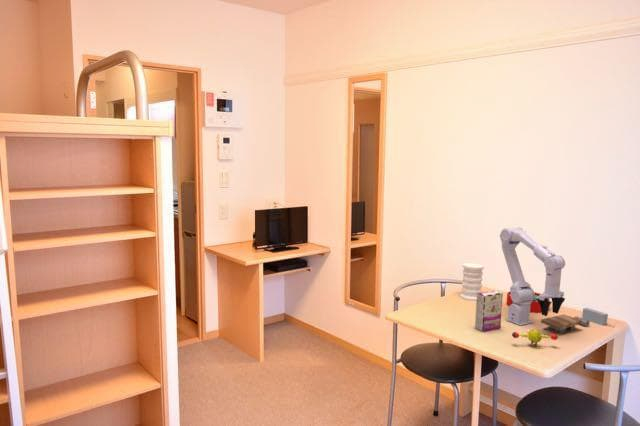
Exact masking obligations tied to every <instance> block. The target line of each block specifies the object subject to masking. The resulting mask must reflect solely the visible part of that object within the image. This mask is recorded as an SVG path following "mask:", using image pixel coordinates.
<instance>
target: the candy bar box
mask: <svg viewBox="0 0 640 426" xmlns="http://www.w3.org/2000/svg"><path fill="white" fill-rule="evenodd" d="M503 294H504V292H502V291H499V290H496V289H495V290H488V291H481V293H477V301H475V302H476V305H475V306H476V307H475V321H474V322H475V323H474V324H475V325H474V329H475V330H477V331H480V332H482V333H485V332H488V331H494V330H498V329H501V327H502V326H501V324H502V323H501V322H502V309H503Z"/></svg>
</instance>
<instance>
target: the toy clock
mask: <svg viewBox="0 0 640 426" xmlns="http://www.w3.org/2000/svg"><path fill="white" fill-rule="evenodd" d="M534 293H535V298H534V300H533V301H532V303H531V305H530V314H531V313H532V314H542V313H541V308H540V304H539V302H538V300H537V299H538V298H539V295H541V294H542V293H539V292H535V291H534ZM550 299H551V298H550ZM550 299H548V301H550ZM512 304H513V301H512V299H511V291H510V290H509V291H508V292H507V294H506V306H508V307H509V306H510V305H512Z"/></svg>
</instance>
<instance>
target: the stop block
mask: <svg viewBox="0 0 640 426" xmlns="http://www.w3.org/2000/svg"><path fill="white" fill-rule="evenodd" d="M608 316H609V315H608V313H605V312H602V311H598V310H596V309H593V308H588V307H585V308H582V316H581V318H583V319H586V320H589V322H590V323H595V324H597V325H601V326H606V325H608Z"/></svg>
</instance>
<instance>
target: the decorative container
mask: <svg viewBox="0 0 640 426" xmlns="http://www.w3.org/2000/svg"><path fill="white" fill-rule="evenodd" d="M462 268H463V271H462V273H463V275H462V283H461V285H462V287H461V293H460V294H459V298H461V299H463V300H465V301H470V302H477V293H481V292H482V286H483V284H482V281H483V277H482V276H483V273H484V272H483V270H484V269H485V266H484V265H483V264H480V263H474V262H463V263H462Z"/></svg>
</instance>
